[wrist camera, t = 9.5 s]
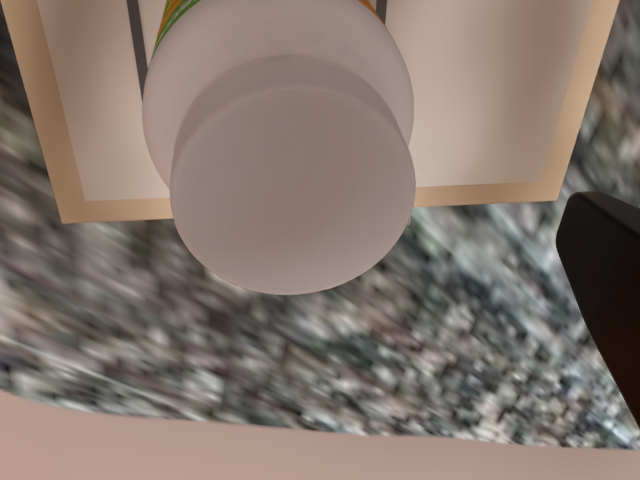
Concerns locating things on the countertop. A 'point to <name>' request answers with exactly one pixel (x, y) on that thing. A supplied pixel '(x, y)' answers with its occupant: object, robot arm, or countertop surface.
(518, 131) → the beige rectangular board
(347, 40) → the supplement bottle
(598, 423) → the countertop surface
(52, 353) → the countertop surface
